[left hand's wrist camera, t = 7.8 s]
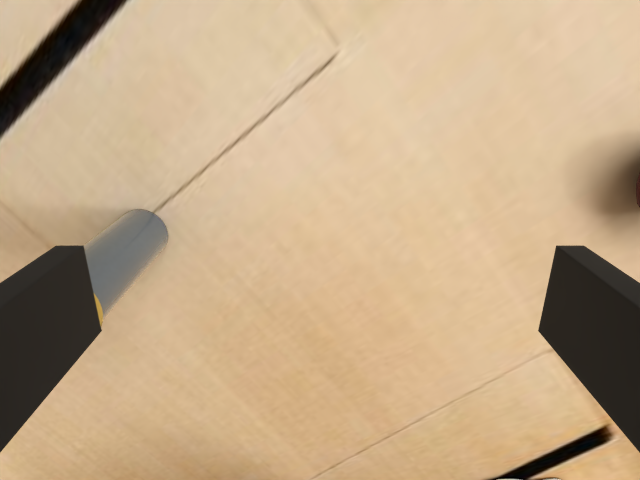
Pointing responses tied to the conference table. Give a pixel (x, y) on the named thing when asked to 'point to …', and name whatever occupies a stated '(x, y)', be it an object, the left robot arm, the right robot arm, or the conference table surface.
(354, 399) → the conference table surface
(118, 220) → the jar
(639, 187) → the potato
